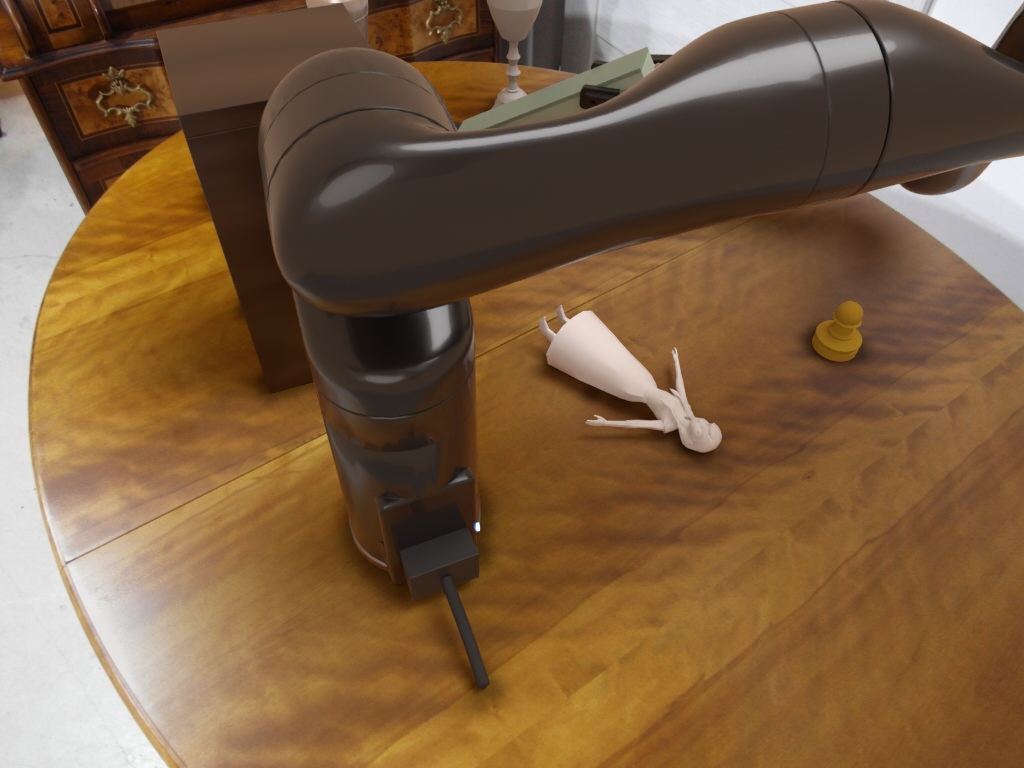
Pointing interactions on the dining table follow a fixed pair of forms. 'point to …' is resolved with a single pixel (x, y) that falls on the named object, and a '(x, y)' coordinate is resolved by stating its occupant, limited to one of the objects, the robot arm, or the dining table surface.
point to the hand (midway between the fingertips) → (586, 83)
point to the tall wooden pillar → (248, 152)
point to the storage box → (564, 94)
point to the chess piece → (840, 333)
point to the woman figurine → (624, 378)
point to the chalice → (513, 38)
